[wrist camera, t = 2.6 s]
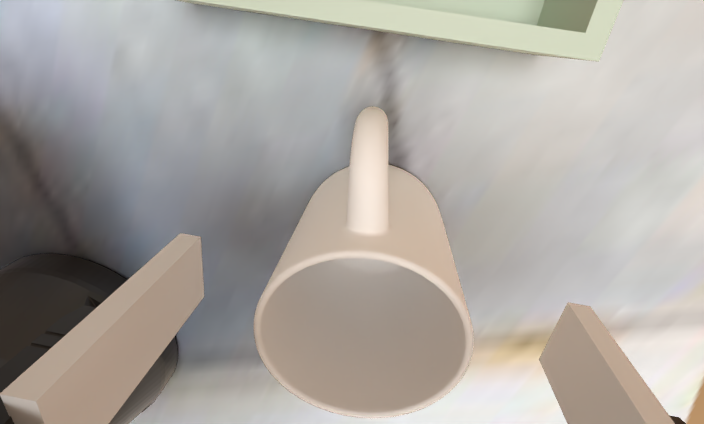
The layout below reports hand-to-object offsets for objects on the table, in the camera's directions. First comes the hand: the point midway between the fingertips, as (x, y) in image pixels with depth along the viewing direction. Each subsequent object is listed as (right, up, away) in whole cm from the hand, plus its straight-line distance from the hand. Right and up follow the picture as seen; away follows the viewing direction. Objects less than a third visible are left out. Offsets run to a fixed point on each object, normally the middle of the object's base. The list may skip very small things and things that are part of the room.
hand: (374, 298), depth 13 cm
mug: (+1, +4, +9) cm, 10 cm away
